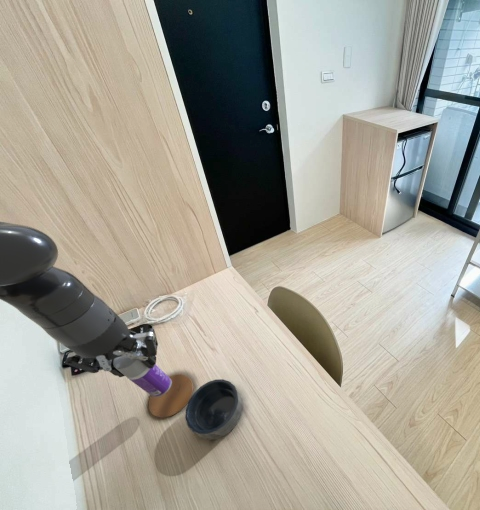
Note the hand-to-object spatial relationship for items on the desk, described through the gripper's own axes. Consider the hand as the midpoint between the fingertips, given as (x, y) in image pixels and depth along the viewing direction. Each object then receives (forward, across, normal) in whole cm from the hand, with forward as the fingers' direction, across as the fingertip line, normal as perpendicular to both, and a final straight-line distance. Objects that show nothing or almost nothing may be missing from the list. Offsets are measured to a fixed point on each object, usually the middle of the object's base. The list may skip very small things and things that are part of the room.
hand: (138, 367), depth 56 cm
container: (+11, 0, 0) cm, 11 cm away
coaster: (+16, 0, 0) cm, 16 cm away
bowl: (+16, +11, -8) cm, 21 cm away
